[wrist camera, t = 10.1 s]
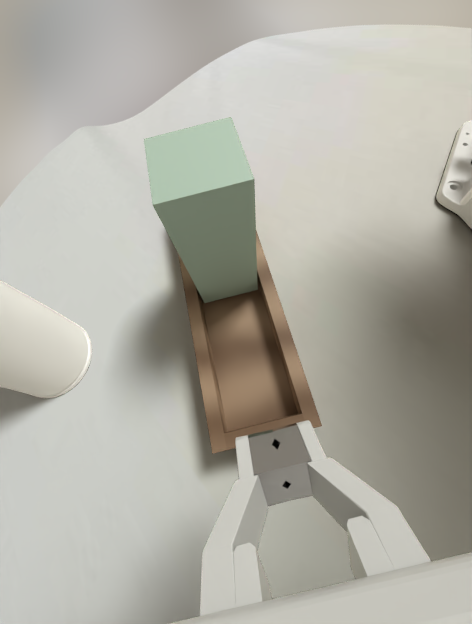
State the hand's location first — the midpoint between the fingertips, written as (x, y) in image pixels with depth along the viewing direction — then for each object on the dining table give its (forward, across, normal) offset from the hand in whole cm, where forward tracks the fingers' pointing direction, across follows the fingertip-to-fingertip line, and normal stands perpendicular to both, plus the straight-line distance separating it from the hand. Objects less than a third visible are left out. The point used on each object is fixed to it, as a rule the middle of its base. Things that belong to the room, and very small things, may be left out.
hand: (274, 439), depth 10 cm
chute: (+19, +1, +1) cm, 19 cm away
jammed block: (+21, +1, -2) cm, 21 cm away
